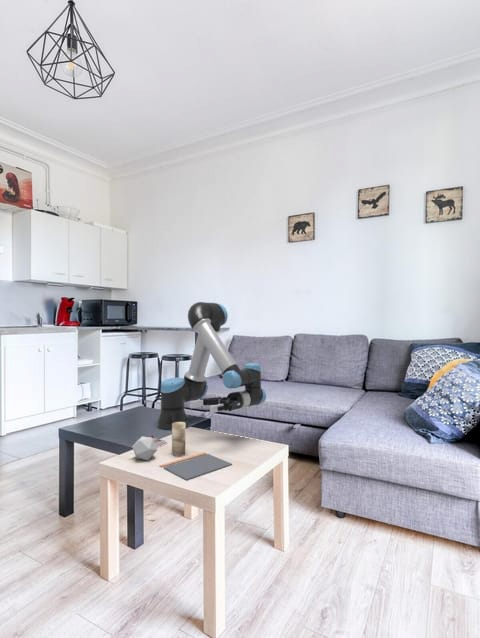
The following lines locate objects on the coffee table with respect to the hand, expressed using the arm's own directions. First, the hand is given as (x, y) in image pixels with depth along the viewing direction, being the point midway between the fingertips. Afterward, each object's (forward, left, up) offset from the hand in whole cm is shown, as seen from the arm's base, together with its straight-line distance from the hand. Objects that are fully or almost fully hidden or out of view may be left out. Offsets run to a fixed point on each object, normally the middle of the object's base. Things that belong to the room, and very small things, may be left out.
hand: (200, 407), depth 151 cm
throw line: (+12, +6, -17) cm, 22 cm away
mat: (+12, +15, -17) cm, 25 cm away
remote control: (+11, -20, -18) cm, 29 cm away
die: (+22, -6, -17) cm, 28 cm away
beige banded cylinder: (+10, -1, -17) cm, 20 cm away
